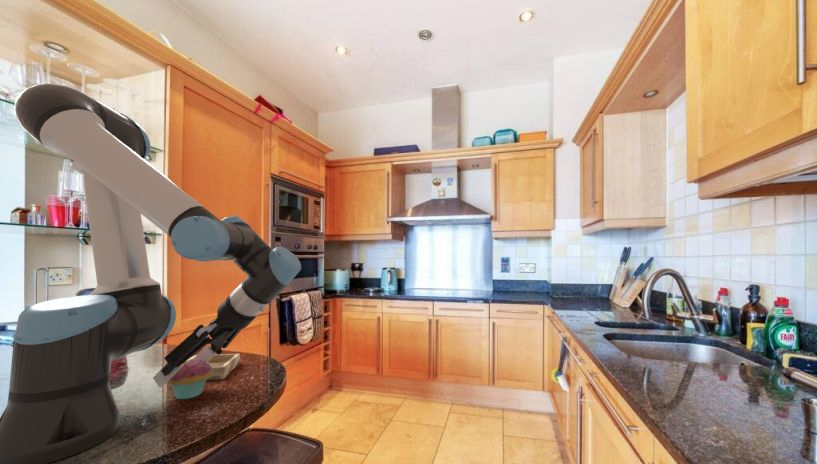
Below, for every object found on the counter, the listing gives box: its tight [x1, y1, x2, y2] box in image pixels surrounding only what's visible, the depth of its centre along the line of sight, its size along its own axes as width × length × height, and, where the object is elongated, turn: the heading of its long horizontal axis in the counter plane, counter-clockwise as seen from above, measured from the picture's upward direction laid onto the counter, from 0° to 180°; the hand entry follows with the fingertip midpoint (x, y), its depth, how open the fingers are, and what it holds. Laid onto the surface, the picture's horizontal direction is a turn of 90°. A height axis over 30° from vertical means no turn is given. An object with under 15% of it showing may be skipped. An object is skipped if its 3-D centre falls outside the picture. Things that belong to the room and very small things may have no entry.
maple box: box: [187, 353, 241, 381], centre depth 86 cm, size 12×12×3 cm
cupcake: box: [166, 361, 212, 400], centre depth 73 cm, size 9×8×12 cm
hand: (176, 374), depth 73 cm, fingers closed on cupcake, 8 cm apart
